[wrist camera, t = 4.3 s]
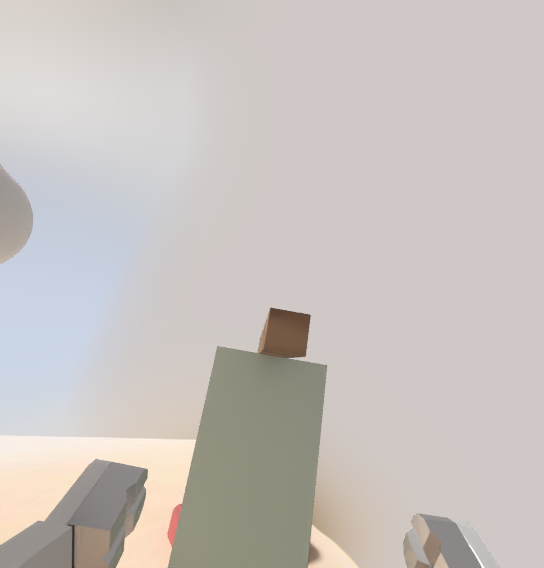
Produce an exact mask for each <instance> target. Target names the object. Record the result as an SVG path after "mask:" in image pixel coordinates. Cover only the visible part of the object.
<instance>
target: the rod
mask: <svg viewBox="0 0 544 568" xmlns="http://www.w3.org/2000/svg"><path fill="white" fill-rule="evenodd" d="M309 324H310V315H308V314H303V313H297V312H291V311H286V310H280V309H275V308H270V311H269V314H268V317H267V320H266V323H265V326H264V329H263V332H262V334H261V337H260V343H259V348H258V353H259V354H265V355H271V356H276V357H282V358H294V357H305V356H306V349H307V340H308V332H309Z"/></svg>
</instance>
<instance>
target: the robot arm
mask: <svg viewBox="0 0 544 568" xmlns="http://www.w3.org/2000/svg"><path fill="white" fill-rule="evenodd" d="M32 226H33V213H32V209H31V205H30V202H29V200H28V198H27V196H26V194H25V192H24V191H23V189H22V188H21V186H20V185H19V184H18V183H17V182H16V181H15V180H14V179H13V178H12V177H11V176H10V175H9V174H8V173H7V172H6V171H5V170H4V169H3V167H2V166H1V165H0V264H1V263H3V262H5V261H7V260H9V259H10V258H12V257H13V256H14V255H15V254H17V253H18V252H19V251H20V250H21V249H22V248H23V246H24V245H25V244H26V242H27V240H28V239H29V236H30V234H31V231H32ZM147 473H148V469H145V468H140V467H135V466H130V465H125V464H120V463H115V462H109V461H104V460H98V459H96V460H94V461H93V462H92V463H91V464H89V465H88V467H87V468H86V469H85V471H84V472H83V473H82V474H81V476H80V477H79V478H78V479H77V481H76V482H75V483H74V484H73V486H72V487H71V488H70V490H69V491H68V492H67V493H66V495H65V496H64V497H63V498H62V500H61V501H60V502H59V503H58V505H57V506H56V507H55V509H54V510H53V511H52V512H51V514H50V515H49V516H48V517H47V519H46V520H45V521H37V522H36V523H34V524H33V525H31V526H30V527H28V528H26V529H25V530H23V531H22V532H20V533H19V534H17V535H16V536H14V537H13V538H11V539H9V540H8V541H6V542H5V543H3V544H2V545H0V568H116V566H117V564H118V562H119V560H120V557H121V555H122V553H123V550H124V538H126V537H127V536H128V535H129V534H130V533H131V532H133V530H134V528H135V526H136V523H137V521H138V519H139V516H140V514H141V511H142V508H143V505H144V501H145V496H146V489H145V487H144V486H143V485H144V483H145V481H146V479H147ZM411 523H412V525H413V529H412V530H410V531H409V532H407V533H406V536H405V539H404V542H403V544H404V557H405V561H406V564H407V568H500V567H499V566H498V564H497V562H496V561H495V559H494V558H493V556H492V555H491V553H490V552H489V550H488V549H487V547H486V546H485V544H484V543H483V541H482V539H481V538H480V536H479V535H478V533H477V532H476V531H475V529H474V528H473V526H472V525H470V524H469V523H468V522H466V521H460V520H454V519H448V518H444V517H438V516H430V515H424V514H416V515H414V516H413V518H412V521H411Z"/></svg>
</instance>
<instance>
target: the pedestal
mask: <svg viewBox="0 0 544 568" xmlns="http://www.w3.org/2000/svg"><path fill="white" fill-rule="evenodd" d="M326 372H327V365H322V364H316V363H310V362H305V361H299V360H293V359H288V358H282V357H276V356H271V355H265V354H259V353H253V352H248V351H242V350H236V349H231V348H225V347H219V346H217V350H216V355H215V360H214V364H213V368H212V373H211V378H210V382H209V386H208V391H207V396H206V400H205V404H204V409H203V413H202V418H201V423H200V426H199V431H198V436H197V440H196V444H195V449H194V453H193V458H192V462H191V467H190V471H189V476H188V480H187V485H186V489H185V494H184V498H183V502H182V507H181V511H180V516H179V520H178V525H177V529H176V534H175V538H174V543H173V547H172V552H171V556H170V561H169V565H168V568H308V558H309V548H310V537H311V527H312V516H313V506H314V496H315V486H316V475H317V465H318V455H319V444H320V434H321V423H322V414H323V413H322V412H323V403H324V393H325V382H326Z"/></svg>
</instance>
